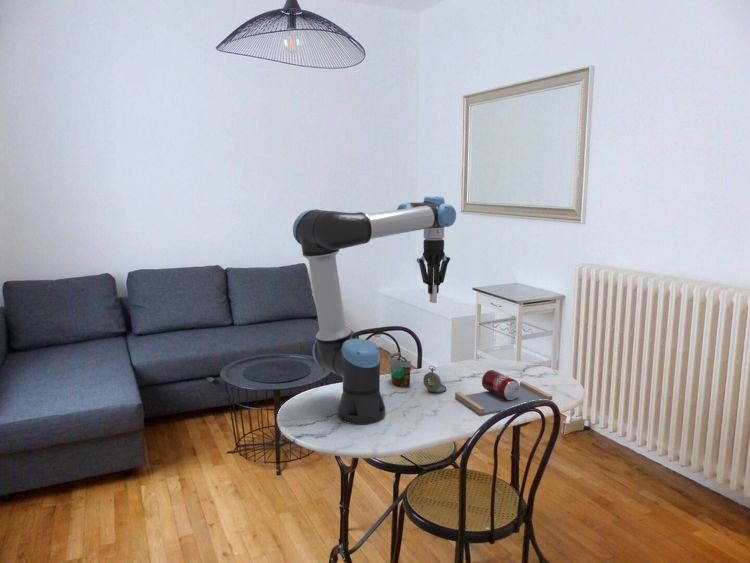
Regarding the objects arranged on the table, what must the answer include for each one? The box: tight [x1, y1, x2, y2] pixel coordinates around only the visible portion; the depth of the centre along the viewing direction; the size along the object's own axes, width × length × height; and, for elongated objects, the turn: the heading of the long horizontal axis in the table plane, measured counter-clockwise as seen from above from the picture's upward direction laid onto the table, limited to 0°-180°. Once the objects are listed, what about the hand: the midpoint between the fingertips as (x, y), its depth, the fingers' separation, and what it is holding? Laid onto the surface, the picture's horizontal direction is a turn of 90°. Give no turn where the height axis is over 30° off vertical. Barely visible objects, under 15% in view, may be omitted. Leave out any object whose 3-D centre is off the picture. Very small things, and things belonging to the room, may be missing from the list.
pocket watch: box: [423, 365, 447, 393], centre depth 199 cm, size 8×8×10 cm
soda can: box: [481, 369, 520, 400], centre depth 194 cm, size 7×7×12 cm
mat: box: [454, 380, 553, 417], centre depth 191 cm, size 28×16×2 cm, turn 112°
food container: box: [388, 352, 412, 388], centre depth 207 cm, size 12×6×10 cm, turn 17°
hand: (433, 302), depth 211 cm, fingers closed
